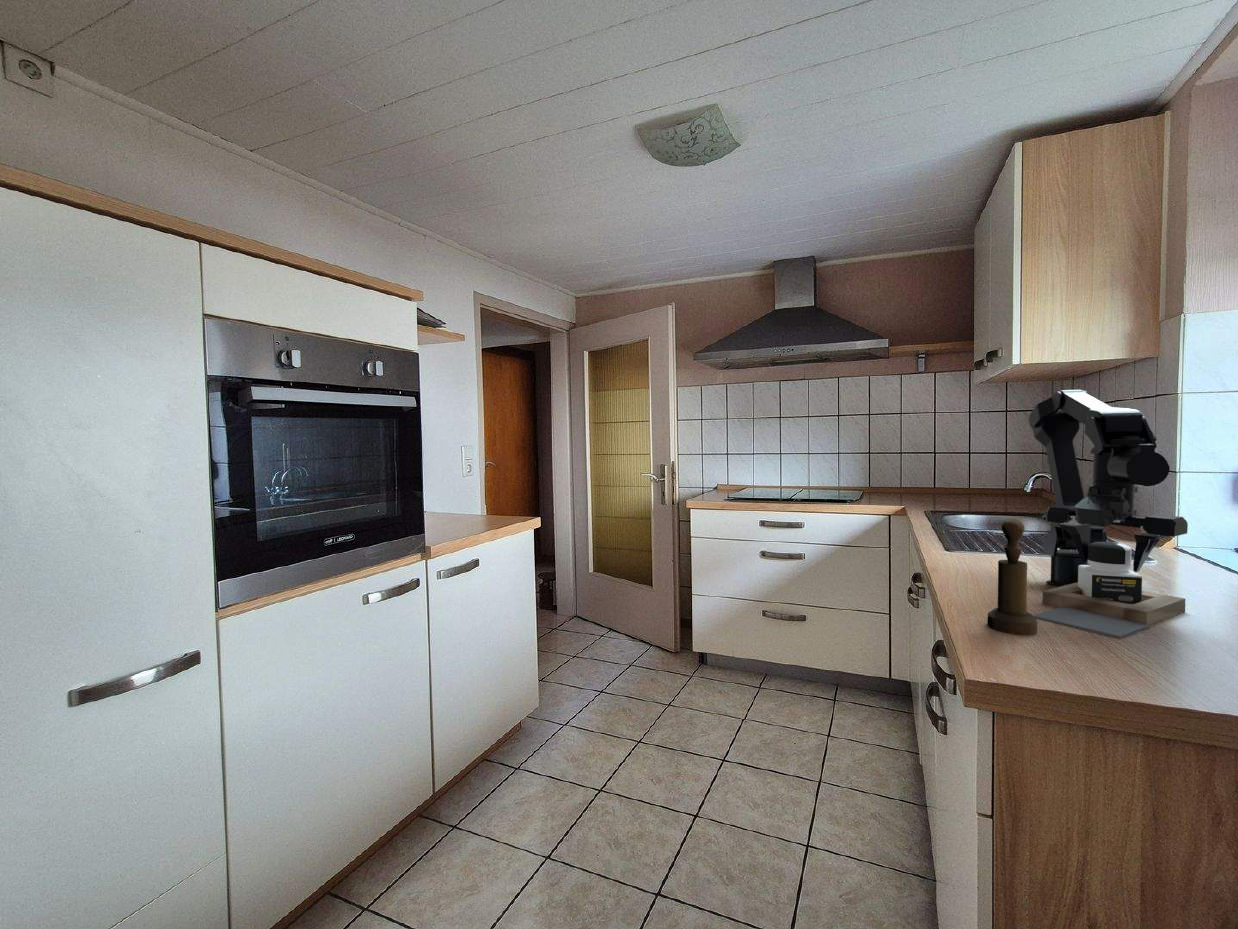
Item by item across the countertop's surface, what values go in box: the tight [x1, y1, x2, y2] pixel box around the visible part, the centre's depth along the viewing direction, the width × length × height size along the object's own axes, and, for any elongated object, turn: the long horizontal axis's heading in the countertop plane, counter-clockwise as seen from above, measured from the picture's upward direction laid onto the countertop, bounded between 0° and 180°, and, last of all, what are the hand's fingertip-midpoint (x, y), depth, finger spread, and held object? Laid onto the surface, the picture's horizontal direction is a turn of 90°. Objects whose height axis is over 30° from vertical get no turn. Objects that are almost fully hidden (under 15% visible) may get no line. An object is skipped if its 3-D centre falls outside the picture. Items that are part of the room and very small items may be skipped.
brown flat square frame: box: [1042, 582, 1186, 627], centre depth 103 cm, size 15×15×2 cm
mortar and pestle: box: [986, 518, 1038, 636], centre depth 93 cm, size 7×6×18 cm
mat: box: [1032, 607, 1150, 640], centre depth 95 cm, size 12×10×1 cm
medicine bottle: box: [1078, 541, 1143, 605], centre depth 105 cm, size 7×7×12 cm
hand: (1109, 567), depth 104 cm, fingers open, 7 cm apart
